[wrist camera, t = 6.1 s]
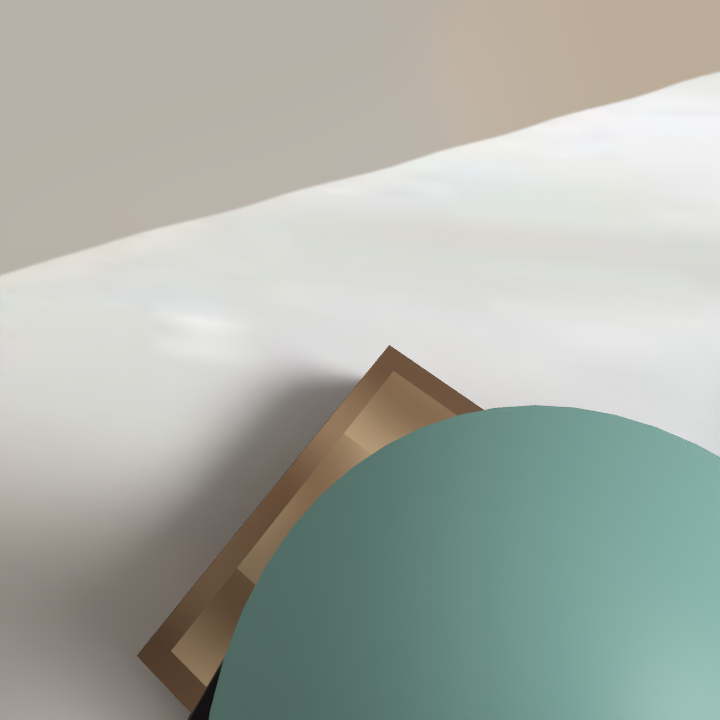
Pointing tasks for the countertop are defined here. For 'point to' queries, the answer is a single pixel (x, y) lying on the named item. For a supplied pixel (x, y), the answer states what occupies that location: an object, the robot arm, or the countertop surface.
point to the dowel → (494, 581)
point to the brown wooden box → (292, 515)
